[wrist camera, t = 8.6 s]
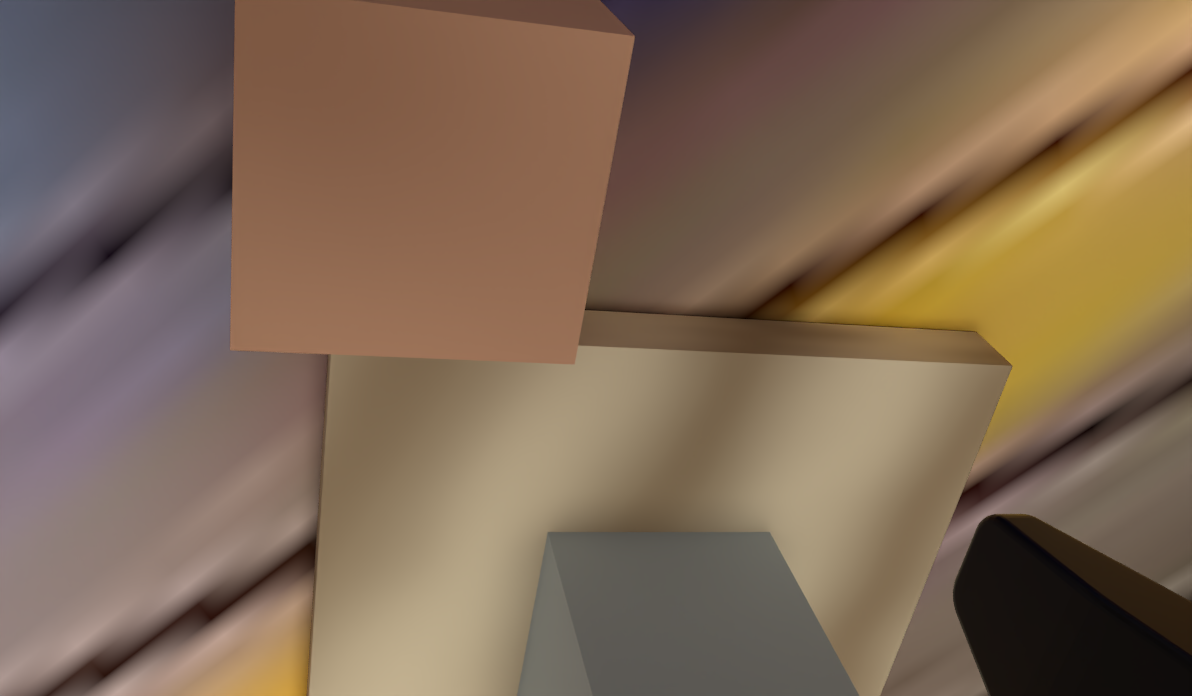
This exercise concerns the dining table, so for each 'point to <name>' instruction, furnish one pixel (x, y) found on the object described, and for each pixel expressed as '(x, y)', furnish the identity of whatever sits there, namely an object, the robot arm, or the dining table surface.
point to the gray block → (674, 619)
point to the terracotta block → (421, 174)
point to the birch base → (634, 482)
